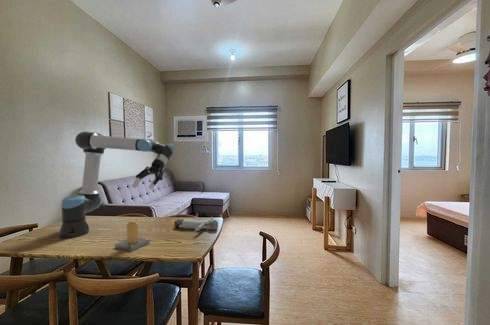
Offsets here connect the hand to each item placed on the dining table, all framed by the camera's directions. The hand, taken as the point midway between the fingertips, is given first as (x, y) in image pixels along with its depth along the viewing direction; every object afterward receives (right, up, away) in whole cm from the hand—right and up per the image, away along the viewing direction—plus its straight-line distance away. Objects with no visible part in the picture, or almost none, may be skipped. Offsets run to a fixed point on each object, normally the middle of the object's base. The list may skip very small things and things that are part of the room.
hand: (141, 187), depth 135 cm
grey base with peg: (+2, -30, -13) cm, 33 cm away
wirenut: (+2, -28, -13) cm, 31 cm away
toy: (+30, -29, +14) cm, 45 cm away
